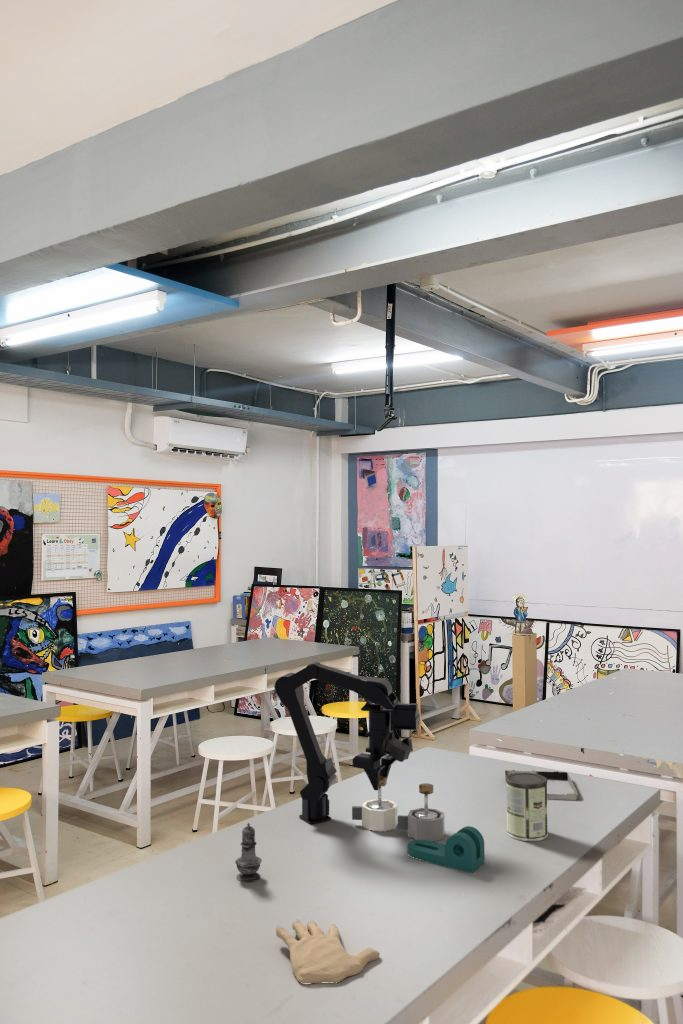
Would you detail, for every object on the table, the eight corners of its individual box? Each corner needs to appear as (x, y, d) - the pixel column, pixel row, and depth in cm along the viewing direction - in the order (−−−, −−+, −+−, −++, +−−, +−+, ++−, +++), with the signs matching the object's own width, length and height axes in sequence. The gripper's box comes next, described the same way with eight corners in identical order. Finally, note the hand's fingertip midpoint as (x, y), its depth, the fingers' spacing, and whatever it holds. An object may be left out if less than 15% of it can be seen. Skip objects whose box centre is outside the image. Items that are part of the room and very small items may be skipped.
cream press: (369, 835, 209) (369, 814, 209) (350, 824, 216) (350, 804, 216) (403, 826, 214) (403, 806, 214) (383, 816, 222) (383, 797, 222)
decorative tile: (578, 805, 235) (571, 781, 254) (578, 794, 235) (571, 771, 254) (506, 801, 238) (504, 778, 258) (506, 791, 238) (504, 768, 258)
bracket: (484, 863, 191) (484, 829, 191) (472, 873, 186) (472, 838, 186) (415, 847, 201) (415, 814, 201) (402, 856, 196) (402, 822, 196)
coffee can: (519, 823, 216) (519, 769, 217) (555, 833, 209) (554, 777, 210) (498, 834, 209) (498, 778, 209) (534, 845, 202) (534, 787, 202)
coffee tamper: (424, 821, 205) (424, 790, 205) (410, 815, 210) (410, 784, 210) (441, 817, 208) (441, 786, 208) (428, 811, 212) (428, 780, 213)
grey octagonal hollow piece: (417, 845, 202) (417, 824, 202) (395, 834, 209) (395, 813, 209) (451, 837, 207) (450, 816, 207) (429, 826, 215) (428, 806, 215)
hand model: (274, 973, 140) (277, 904, 159) (273, 998, 140) (275, 926, 160) (384, 975, 141) (374, 906, 161) (383, 1000, 141) (372, 928, 161)
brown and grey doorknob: (376, 812, 212) (376, 782, 212) (364, 806, 217) (364, 776, 217) (394, 808, 215) (394, 778, 215) (382, 802, 220) (382, 773, 220)
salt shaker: (240, 884, 180) (240, 829, 180) (231, 874, 185) (231, 820, 185) (265, 879, 182) (265, 824, 182) (255, 869, 187) (256, 816, 188)
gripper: (390, 740, 204) (390, 803, 204) (422, 724, 220) (423, 783, 220) (351, 734, 210) (351, 796, 209) (385, 719, 226) (385, 777, 225)
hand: (379, 788), depth 216 cm, fingers closed on brown and grey doorknob, 4 cm apart
